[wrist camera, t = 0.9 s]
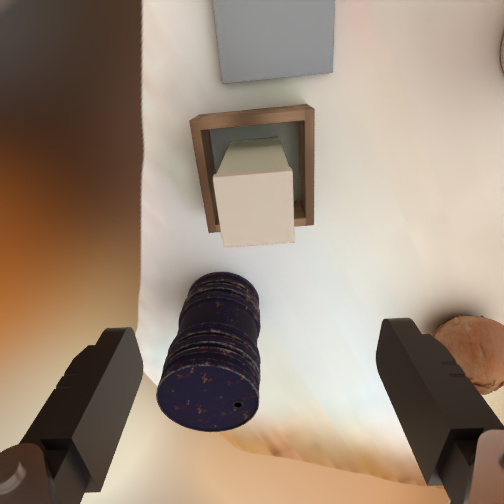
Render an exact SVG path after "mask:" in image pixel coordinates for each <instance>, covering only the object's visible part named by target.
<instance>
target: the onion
mask: <svg viewBox="0 0 504 504" xmlns="http://www.w3.org/2000/svg"><path fill="white" fill-rule="evenodd" d="M481 316H482V315H481ZM433 337H434V338H435V339H437V340H438V341H439V342H441V343H442V344H443V345H444V346H446V347H447V349H448V350H449V352H450V353H451V354H452V356H453V357H454V358H455V360H456V363H457V364H459V365H460V367H461V368H462V369H463V371H464V372H465V375H466V377H468V378H469V379H470V380H471V382H472V383H473V385H474V386H475V387H476V389H477V390H478V391H479V393H480V394H482V395H486V394H489V393H490V392H492V391H496V390H498V389H499V388H501V387H502V386H504V325H502V324H500V323H498V322H496V321H494V320H491V319H488V318H484V317H483V316H482V317H478V316H470V315H468V316H462V315H459V316H458V317H455V318H453V319H452V320H449V321H448V322H446V323H445V324H442V325H439V327H438V328H437V329H436V330H435V331H434V333H433Z"/></svg>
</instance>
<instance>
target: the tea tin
mask: <svg viewBox="0 0 504 504" xmlns="http://www.w3.org/2000/svg"><path fill="white" fill-rule="evenodd" d="M213 183H214V190H215V196H216V203H217V210H218V216H219V223H220V229H221V236H222V242H223V248H224V247H238V246H252V245H266V244H280V243H294V242H295V241H294V205H293V171H292V168H289V165H288V162H287V159H286V156H285V153H284V150H283V147H282V144H281V141H280V138H279V137H275V138H264V139H253V140H242V141H231V142H230V144H229V146H228V149H227V151H226V153H225V156H224V158H223V160H222V162H221V165H220V167H219V169H218V172H217V174H214V176H213Z"/></svg>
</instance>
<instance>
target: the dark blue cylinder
mask: <svg viewBox="0 0 504 504" xmlns="http://www.w3.org/2000/svg"><path fill="white" fill-rule="evenodd" d="M259 332H260V310H259V297H258V294H257V291H256V289H255V288H254V287H253V285H252V284H251V283H250V282H249V281H247V280H246V279H245V278H243V277H241V276H239V275H236V274H233V273H229V272H214V273H210V274H207V275H204V276H202V277H200V278H199V279H198V280H196V281H195V282H194V283H193V285H192V286H191V288H190V290H189V293H188V297H187V299H186V300H185V302H184V305H183V308H182V311H181V313H180V317H179V330H178V333H177V336H176V337H175V339H174V340H173V342H172V344H171V345H170V347H169V350H168V355H167V357H166V360H165V363H164V366H163V373H162V376H161V380H160V382H159V385H158V388H157V393H156V398H157V402H158V405H159V407H160V409H161V410H162V412H163V413H164V414H165V415H166V416H167V417H168V418H169V419H171V420H172V421H174V422H175V423H178V424H180V425H181V426H184V427H187V428H189V429H193V430H198V431H205V432H220V431H227V430H232V429H235V428H237V427H240V426H242V425H244V424H245V423H247V422H248V421H249V420H251V419H252V418H253V416H254V415H255V414H256V412H257V410H258V407H259V384H260V355H259V351H258V348H257V339H258V336H259Z"/></svg>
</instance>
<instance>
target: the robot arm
mask: <svg viewBox="0 0 504 504" xmlns="http://www.w3.org/2000/svg"><path fill="white" fill-rule="evenodd" d="M501 65H502V68H503V72H504V37H503V40H502V47H501ZM376 365H377V369H378V373H379V375H380V378H381V380H382V382H383V384H384V387H385V389H386V391H387V394H388V396H389V398H390V401H391V403H392V405H393V408H394V410H395V412H396V415H397V417H398V419H399V421H400V424H401V426H402V428H403V431H404V433H405V435H406V438H407V440H408V442H409V445H410V447H411V449H412V451H413V454H414V456H415V458H416V461H417V463H418V465H419V468H420V470H421V472H422V475H423V477H424V479H425V481H426V484H427V486H434V485H443V486H444V488H445V490H446V492H447V494H448V497H449V500H448V502H447V504H504V426H503V424H502V423H501V422H500V420H499V419H498V417H497V416H496V415H495V413H494V412H493V411H492V409H491V408H490V407H489V405H488V404H487V402H486V401H485V400H484V398H483V397H482V396H481V394H480V393H479V391H478V390H477V389H476V387H475V386H474V385H473V383H472V382H471V380H470V379H469V378H468V377H466V375H465V372H464V371H463V369H462V368H461V367H460V365H459V364H457V363H456V360H455V358H454V357H453V356H452V354H451V353H450V352H449V350H448V349H447V347H446V346H444V345H443V344H442V343H441V342H439V341H438V340H437V339H435V338H434V337H433V336H431V335H430V334H421V332H420V331H419V329H418V328H417V326H416V325H415V323H414V322H413V320H412V319H410V318H392V319H384V320H383V321H382V325H381V330H380V335H379V340H378V346H377V351H376ZM142 375H143V361H142V357H141V354H140V350H139V347H138V343H137V340H136V337H135V333H134V331H133V329H132V328H130V327H127V328H107V329H105V330H104V331H103V333H102V334H101V336H100V338H99V339H98V341H97V343H96V345H88V346H87V347H86V348H85V349H84V350H83V351H82V352H81V353H79V355H77V356H76V357H75V358H74V359H73V360H72V362H71V364H70V365H69V367H68V368H67V370H66V371H65V374H64V376H62V378H61V379H60V381H59V382H58V384H57V386H56V389H54V390H53V392H52V393H51V395H50V397H49V398H48V400H47V401H46V403H45V404H44V406H43V407H42V409H41V410H40V412H39V414H38V415H37V417H36V418H35V420H34V421H33V423H32V425H31V426H30V428H29V429H28V431H27V432H26V434H25V435H24V437H23V439H22V440H21V441H20V443H19V444H18V445H15V446H12V447H10V448H8V449H6V450H4V451H2V452H0V504H80V502H81V500H82V498H83V495H84V493H85V492H86V493H87V492H100V491H101V489H102V486H103V483H104V481H105V478H106V475H107V473H108V470H109V467H110V464H111V462H112V459H113V456H114V454H115V451H116V448H117V445H118V443H119V440H120V437H121V434H122V431H123V429H124V426H125V424H126V421H127V418H128V415H129V413H130V410H131V407H132V404H133V402H134V399H135V396H136V394H137V391H138V388H139V385H140V383H141V380H142Z"/></svg>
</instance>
